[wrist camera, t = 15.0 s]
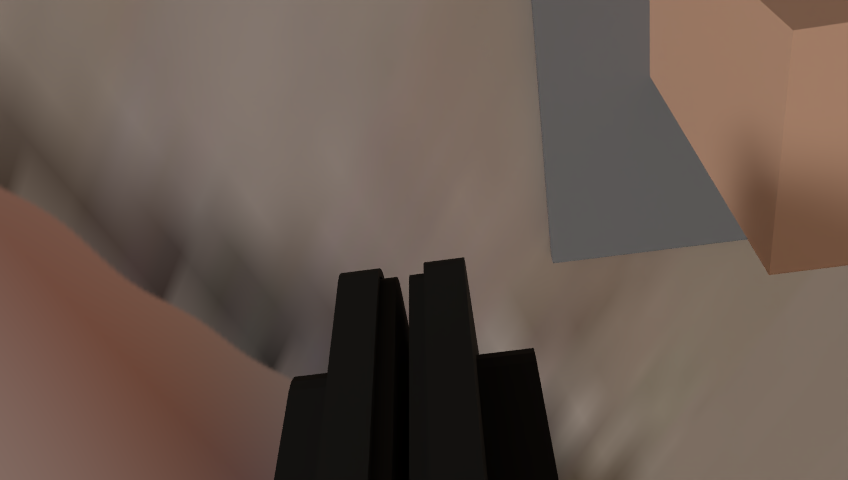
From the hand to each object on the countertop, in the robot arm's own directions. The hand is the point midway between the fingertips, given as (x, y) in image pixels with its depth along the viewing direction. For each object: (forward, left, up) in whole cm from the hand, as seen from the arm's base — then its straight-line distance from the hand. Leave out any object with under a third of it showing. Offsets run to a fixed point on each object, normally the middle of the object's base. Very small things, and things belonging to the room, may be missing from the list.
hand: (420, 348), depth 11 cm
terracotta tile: (-1, -7, -14) cm, 16 cm away
